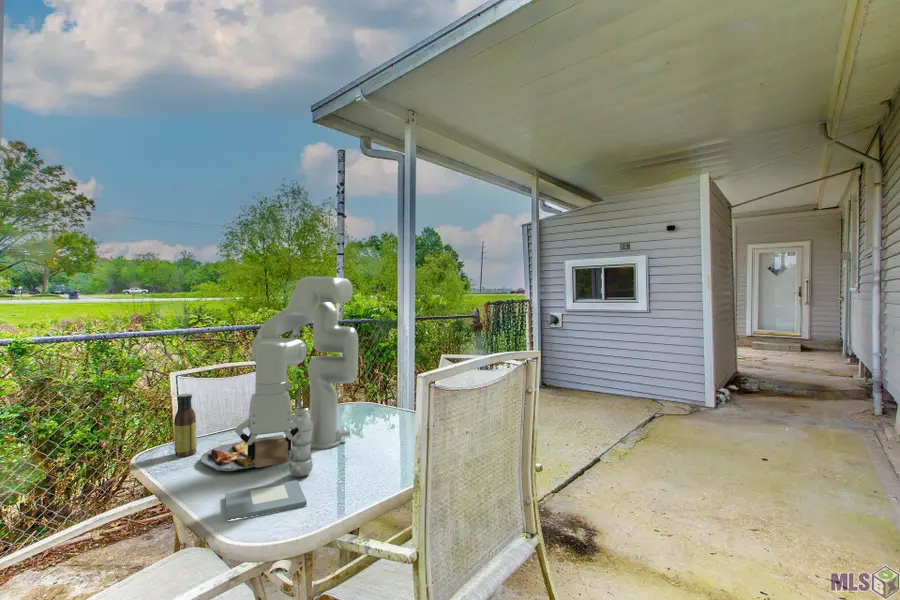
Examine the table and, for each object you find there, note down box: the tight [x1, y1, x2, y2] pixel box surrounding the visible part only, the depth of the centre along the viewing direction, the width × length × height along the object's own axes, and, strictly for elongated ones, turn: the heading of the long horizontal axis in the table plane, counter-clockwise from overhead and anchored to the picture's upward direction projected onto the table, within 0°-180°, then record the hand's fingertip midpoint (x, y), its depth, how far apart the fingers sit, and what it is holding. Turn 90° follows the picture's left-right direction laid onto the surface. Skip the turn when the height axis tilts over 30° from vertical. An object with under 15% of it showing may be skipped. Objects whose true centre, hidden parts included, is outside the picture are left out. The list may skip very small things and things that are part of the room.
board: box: [224, 479, 308, 521], centre depth 110 cm, size 18×14×1 cm
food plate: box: [199, 439, 256, 472], centre depth 139 cm, size 25×23×4 cm
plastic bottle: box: [288, 405, 314, 478], centre depth 127 cm, size 6×7×20 cm
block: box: [253, 434, 289, 468], centre depth 112 cm, size 8×8×5 cm
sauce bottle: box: [173, 393, 198, 458], centre depth 142 cm, size 7×6×20 cm
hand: (269, 455), depth 112 cm, fingers closed on block, 7 cm apart
